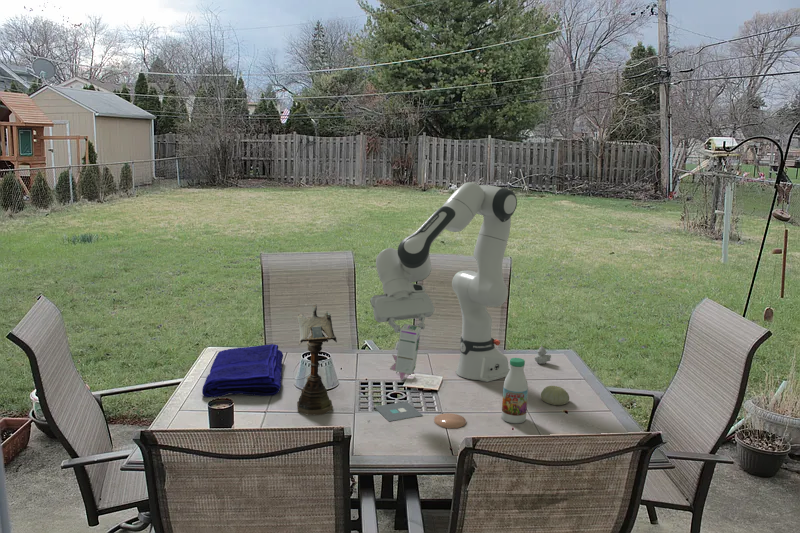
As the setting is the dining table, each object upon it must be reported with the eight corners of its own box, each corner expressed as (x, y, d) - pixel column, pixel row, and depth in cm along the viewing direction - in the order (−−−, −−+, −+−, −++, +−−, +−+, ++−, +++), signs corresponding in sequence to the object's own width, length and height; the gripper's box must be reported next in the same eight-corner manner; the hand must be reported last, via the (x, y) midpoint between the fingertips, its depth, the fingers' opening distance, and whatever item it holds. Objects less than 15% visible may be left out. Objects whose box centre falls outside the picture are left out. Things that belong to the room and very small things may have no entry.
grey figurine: (532, 361, 261) (534, 342, 260) (549, 361, 261) (550, 342, 260) (535, 365, 256) (537, 346, 254) (552, 366, 256) (553, 346, 254)
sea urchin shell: (555, 404, 213) (545, 381, 217) (543, 413, 220) (533, 391, 223) (577, 399, 218) (566, 377, 222) (564, 409, 224) (554, 387, 228)
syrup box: (412, 375, 202) (419, 331, 199) (394, 371, 203) (400, 327, 200) (415, 368, 207) (421, 326, 204) (397, 365, 208) (403, 322, 205)
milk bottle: (498, 414, 209) (502, 355, 205) (522, 413, 210) (526, 355, 206) (504, 424, 201) (508, 363, 198) (528, 424, 202) (532, 363, 198)
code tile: (406, 401, 217) (406, 401, 217) (423, 415, 206) (423, 415, 206) (374, 407, 212) (374, 406, 212) (388, 421, 201) (388, 420, 201)
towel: (201, 400, 215) (200, 375, 213) (215, 363, 249) (215, 342, 248) (280, 397, 219) (280, 373, 217) (284, 362, 253) (284, 340, 251)
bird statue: (341, 420, 201) (342, 312, 194) (299, 423, 198) (299, 313, 192) (335, 399, 217) (336, 299, 210) (296, 401, 214) (295, 300, 208)
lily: (384, 382, 236) (393, 365, 232) (383, 362, 245) (392, 346, 241) (411, 389, 239) (421, 373, 235) (409, 369, 248) (418, 353, 244)
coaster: (455, 412, 209) (455, 411, 209) (471, 425, 200) (471, 423, 200) (428, 417, 205) (428, 416, 205) (443, 430, 196) (443, 429, 196)
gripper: (371, 290, 203) (383, 328, 197) (428, 285, 212) (441, 321, 205) (366, 301, 208) (377, 338, 201) (422, 295, 217) (435, 331, 210)
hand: (410, 330), depth 203 cm, fingers closed on syrup box, 7 cm apart
